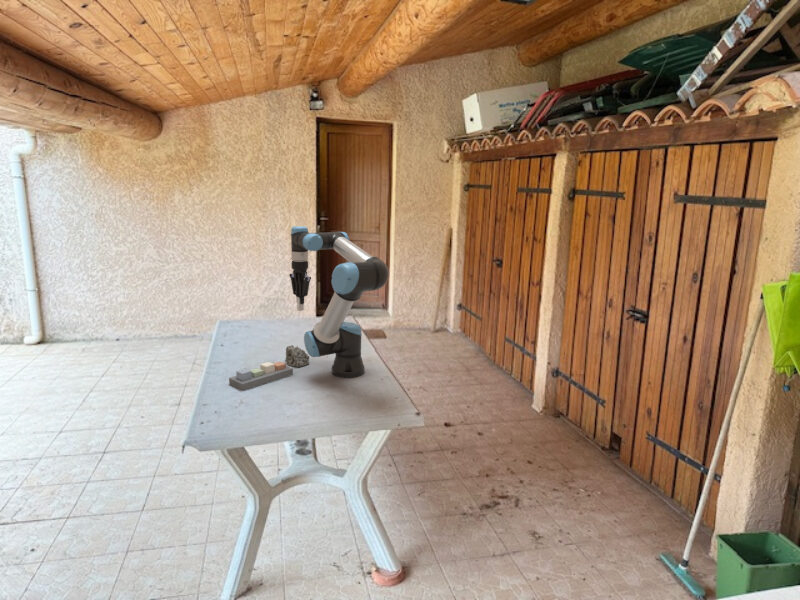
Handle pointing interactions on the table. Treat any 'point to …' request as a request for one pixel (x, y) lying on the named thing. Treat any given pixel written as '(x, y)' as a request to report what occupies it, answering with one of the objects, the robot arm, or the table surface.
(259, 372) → the key sage
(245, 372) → the key slate
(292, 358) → the rock
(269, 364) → the key cream
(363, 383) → the table surface
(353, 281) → the robot arm
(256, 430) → the table surface
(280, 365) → the key terracotta
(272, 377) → the grey socket tray
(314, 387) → the table surface
